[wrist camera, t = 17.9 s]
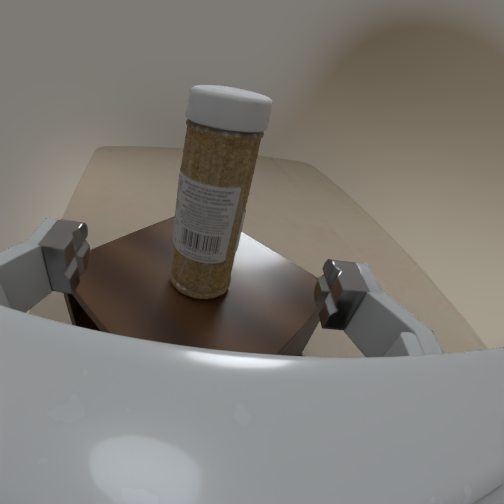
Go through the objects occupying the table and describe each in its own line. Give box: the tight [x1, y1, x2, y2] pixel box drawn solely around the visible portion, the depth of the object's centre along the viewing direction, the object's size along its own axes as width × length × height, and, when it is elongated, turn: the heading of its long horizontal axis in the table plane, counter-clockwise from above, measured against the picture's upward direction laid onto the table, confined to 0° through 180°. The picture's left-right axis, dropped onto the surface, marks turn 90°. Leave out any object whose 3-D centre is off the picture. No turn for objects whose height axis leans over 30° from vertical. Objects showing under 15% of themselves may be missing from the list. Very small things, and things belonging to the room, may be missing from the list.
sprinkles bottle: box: [170, 85, 273, 299], centre depth 18 cm, size 5×5×14 cm
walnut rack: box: [64, 216, 320, 356], centre depth 25 cm, size 16×16×9 cm
